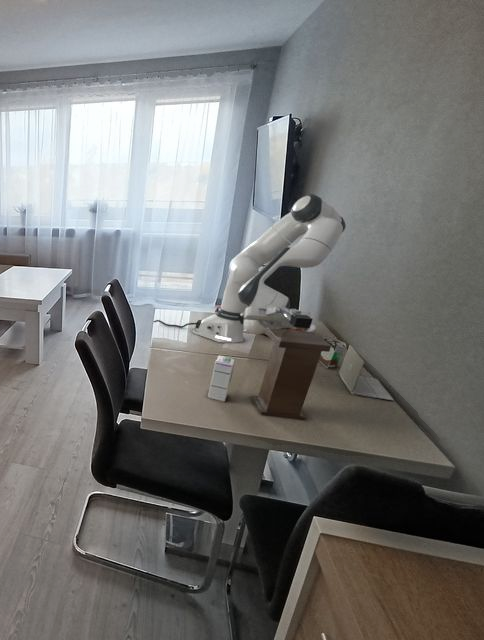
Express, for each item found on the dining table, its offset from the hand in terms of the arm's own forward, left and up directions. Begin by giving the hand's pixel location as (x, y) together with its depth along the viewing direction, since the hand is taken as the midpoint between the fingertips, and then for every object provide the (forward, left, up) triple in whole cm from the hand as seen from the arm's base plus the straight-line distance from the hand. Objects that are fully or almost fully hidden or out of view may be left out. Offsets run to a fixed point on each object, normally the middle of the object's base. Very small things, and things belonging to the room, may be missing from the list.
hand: (285, 310), depth 140 cm
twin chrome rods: (+3, -4, -1) cm, 5 cm away
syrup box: (-10, -17, -31) cm, 37 cm away
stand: (+7, -10, -31) cm, 33 cm away
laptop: (+27, +31, -31) cm, 51 cm away
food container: (+14, +46, -31) cm, 57 cm away
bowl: (-13, +76, -31) cm, 83 cm away
